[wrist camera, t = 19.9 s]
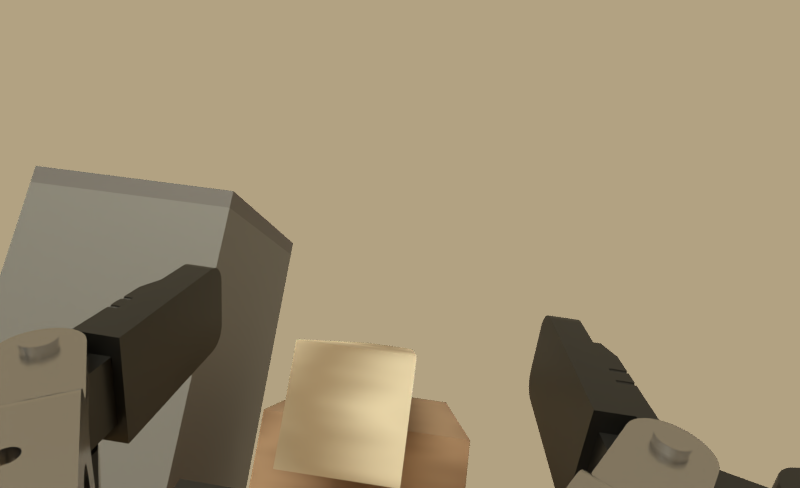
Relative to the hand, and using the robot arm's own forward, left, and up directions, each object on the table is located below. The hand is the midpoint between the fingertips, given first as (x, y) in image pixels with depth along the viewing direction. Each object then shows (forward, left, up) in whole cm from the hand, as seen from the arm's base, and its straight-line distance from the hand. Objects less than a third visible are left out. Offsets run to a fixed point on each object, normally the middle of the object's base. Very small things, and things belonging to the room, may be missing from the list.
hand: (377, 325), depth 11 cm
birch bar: (-1, +14, -4) cm, 14 cm away
